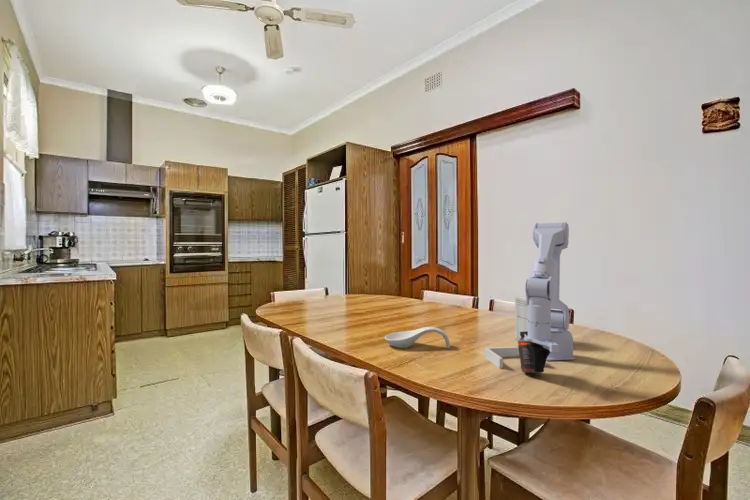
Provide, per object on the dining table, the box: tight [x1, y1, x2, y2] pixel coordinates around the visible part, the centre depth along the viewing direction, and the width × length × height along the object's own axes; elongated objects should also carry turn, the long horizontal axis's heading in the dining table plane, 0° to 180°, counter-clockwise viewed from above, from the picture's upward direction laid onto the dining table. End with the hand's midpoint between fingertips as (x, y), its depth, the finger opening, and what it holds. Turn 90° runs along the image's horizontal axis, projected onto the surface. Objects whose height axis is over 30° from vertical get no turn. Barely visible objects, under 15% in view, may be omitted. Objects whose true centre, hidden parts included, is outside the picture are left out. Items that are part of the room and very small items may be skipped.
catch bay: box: [483, 346, 520, 369], centre depth 111 cm, size 14×11×3 cm
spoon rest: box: [384, 326, 451, 350], centre depth 128 cm, size 24×12×7 cm, turn 83°
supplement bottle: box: [517, 331, 545, 374], centre depth 101 cm, size 6×6×11 cm
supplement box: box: [514, 295, 528, 341], centre depth 134 cm, size 10×9×17 cm
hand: (538, 371), depth 96 cm, fingers closed, pressing on supplement bottle
